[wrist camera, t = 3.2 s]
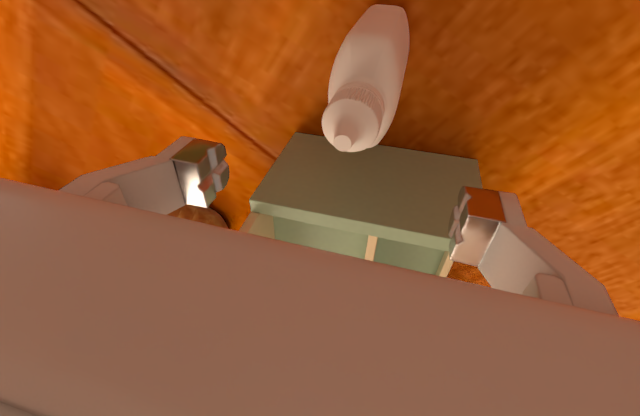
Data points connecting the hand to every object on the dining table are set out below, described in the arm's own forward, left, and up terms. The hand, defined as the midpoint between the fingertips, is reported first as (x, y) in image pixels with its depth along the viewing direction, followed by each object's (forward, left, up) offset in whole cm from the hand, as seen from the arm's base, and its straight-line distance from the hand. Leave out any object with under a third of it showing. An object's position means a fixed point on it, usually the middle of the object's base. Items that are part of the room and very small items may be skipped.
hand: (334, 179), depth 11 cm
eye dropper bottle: (0, 0, -14) cm, 14 cm away
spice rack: (+15, +1, -14) cm, 21 cm away
